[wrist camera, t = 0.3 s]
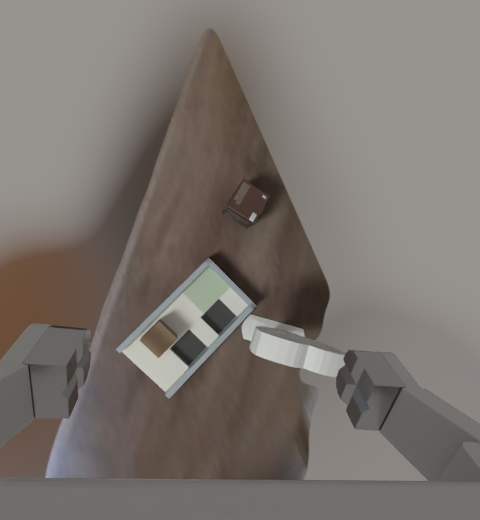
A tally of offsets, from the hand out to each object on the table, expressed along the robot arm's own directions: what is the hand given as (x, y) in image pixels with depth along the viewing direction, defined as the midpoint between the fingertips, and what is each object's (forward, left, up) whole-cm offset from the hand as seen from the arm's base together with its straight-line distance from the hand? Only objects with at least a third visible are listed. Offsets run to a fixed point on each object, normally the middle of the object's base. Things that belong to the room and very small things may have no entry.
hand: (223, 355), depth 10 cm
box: (+11, -16, -53) cm, 56 cm away
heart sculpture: (-15, -13, -53) cm, 57 cm away
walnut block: (-7, +8, -51) cm, 52 cm away
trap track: (-7, +2, -53) cm, 53 cm away
